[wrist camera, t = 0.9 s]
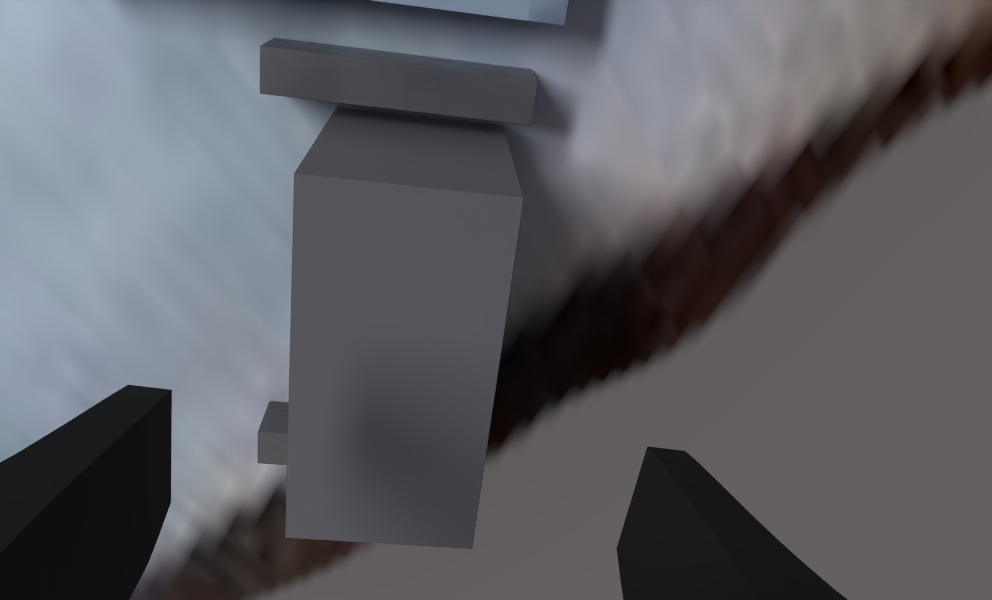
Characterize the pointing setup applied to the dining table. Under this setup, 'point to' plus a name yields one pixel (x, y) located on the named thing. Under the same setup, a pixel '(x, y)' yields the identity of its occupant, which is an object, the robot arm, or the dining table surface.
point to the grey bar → (397, 325)
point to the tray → (500, 8)
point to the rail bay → (392, 87)
